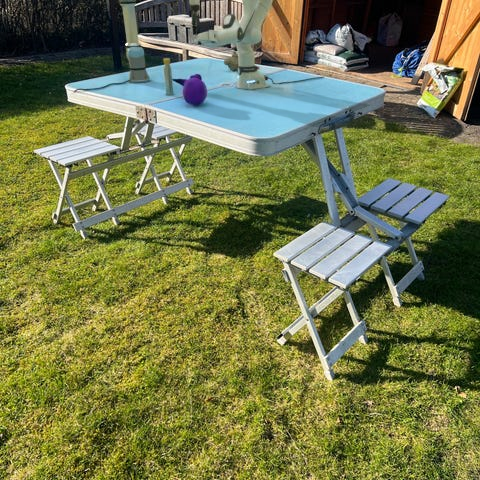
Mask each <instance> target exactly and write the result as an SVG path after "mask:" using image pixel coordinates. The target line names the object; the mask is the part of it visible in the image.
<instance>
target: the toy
mask: <svg viewBox="0 0 480 480" xmlns="http://www.w3.org/2000/svg"><path fill="white" fill-rule="evenodd" d="M172 82H174V83H176V84H178V85H181V86H182V96H183V100H184V102H186V103H187V104H188V105H191V106H199V105H201V104H202V103H203V102H205V100H206V99H207V97H208V88H207V85H206V83H205V82H204V80H203V78H202V75H201V74H200V73H195V74H192V75H190V76H189V78H188V79H187V78H172Z"/></svg>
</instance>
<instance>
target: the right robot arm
mask: <svg viewBox="0 0 480 480" xmlns="http://www.w3.org/2000/svg"><path fill="white" fill-rule="evenodd" d="M273 1H274V0H241V2H242V7H243V14H242V15H241V17H240V20H238V18H237V16H236V15H235V14H234V13H228V14H226V15H225V16H224V17H223V18H222V21H221V27H222V29H218V30H216V29H215V30H214V29H208V31H204V32H200V34H198V35H197V34H196V38H194V39H193V43H198V42H200V46H202V47H210V48H217V47H222V46H225V45H232V44H235V47H236V50H237V54H238V60H239V66H238V70H237V84H236V88H238V89H242V90H257V89H264V88H269V87H270V85H269V83H268V82H266V81H268V80H270V81H271V83H272V84H273V85H283V84H290V83H300V82H304V81H310V80H315V79H323V78H325V76H317V77H311V78H305V79H300V80H294V81H284V82H283V81H282V82H277V83H276V82H274V80H273V79H272V78H271V77H268V76H267V75H263V74H262V73H261V72H259V71H260V69H261V68H260V66H259V65H255V64H256V63H255V61H256V60H255V59H256V57H255V56H256V54H255V52H254V50H253V48H252V46H253V45H257V44H260V43H261V41H262V39H263V33H262V26H263V23H264V21H265V19H266V17H267V15H268V14H269V12H270V10H271V8H272V5H273ZM258 70H259V71H258Z"/></svg>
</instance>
